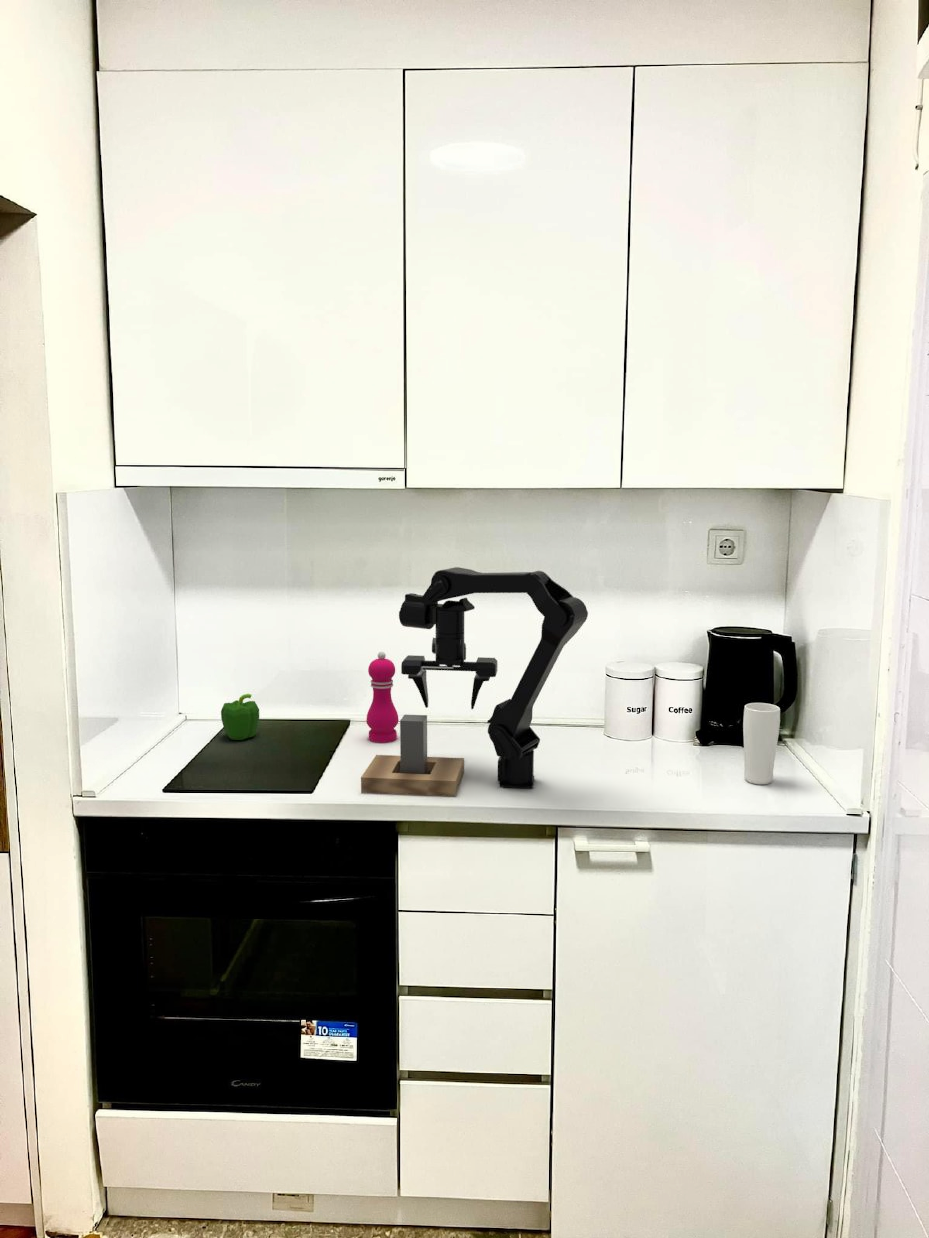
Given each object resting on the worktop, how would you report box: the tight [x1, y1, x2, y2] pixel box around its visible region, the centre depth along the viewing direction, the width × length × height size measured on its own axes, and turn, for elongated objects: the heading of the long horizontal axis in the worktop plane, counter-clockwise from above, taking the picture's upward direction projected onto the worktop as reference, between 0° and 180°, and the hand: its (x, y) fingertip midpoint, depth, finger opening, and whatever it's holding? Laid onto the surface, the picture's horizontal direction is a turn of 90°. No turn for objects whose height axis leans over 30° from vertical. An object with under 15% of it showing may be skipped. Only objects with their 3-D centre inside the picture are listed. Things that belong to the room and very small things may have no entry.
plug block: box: [399, 714, 428, 774], centre depth 188 cm, size 4×4×13 cm
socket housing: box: [360, 754, 465, 797], centre depth 189 cm, size 18×14×3 cm
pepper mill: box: [365, 651, 400, 744], centre depth 216 cm, size 7×7×20 cm
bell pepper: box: [220, 693, 260, 741], centre depth 218 cm, size 8×8×10 cm
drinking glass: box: [742, 702, 781, 785], centre depth 189 cm, size 7×7×15 cm
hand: (449, 707), depth 194 cm, fingers open, 9 cm apart
